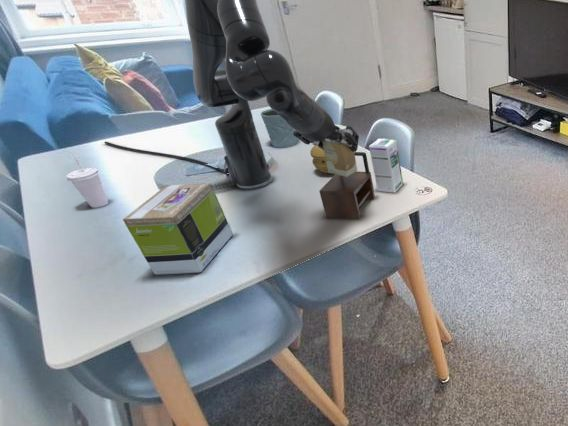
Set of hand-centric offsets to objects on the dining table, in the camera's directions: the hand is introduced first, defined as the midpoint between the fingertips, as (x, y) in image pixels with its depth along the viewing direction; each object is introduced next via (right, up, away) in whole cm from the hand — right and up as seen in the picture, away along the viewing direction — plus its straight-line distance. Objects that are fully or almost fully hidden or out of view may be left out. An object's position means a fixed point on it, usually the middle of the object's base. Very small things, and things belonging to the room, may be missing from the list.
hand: (340, 147), depth 109 cm
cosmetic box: (0, -6, +2) cm, 7 cm away
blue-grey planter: (-40, +9, +48) cm, 63 cm away
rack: (0, -15, +8) cm, 17 cm away
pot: (-13, -3, +28) cm, 32 cm away
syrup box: (+8, -9, +18) cm, 21 cm away
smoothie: (-70, -15, +9) cm, 72 cm away
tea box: (-29, -26, -11) cm, 41 cm away
